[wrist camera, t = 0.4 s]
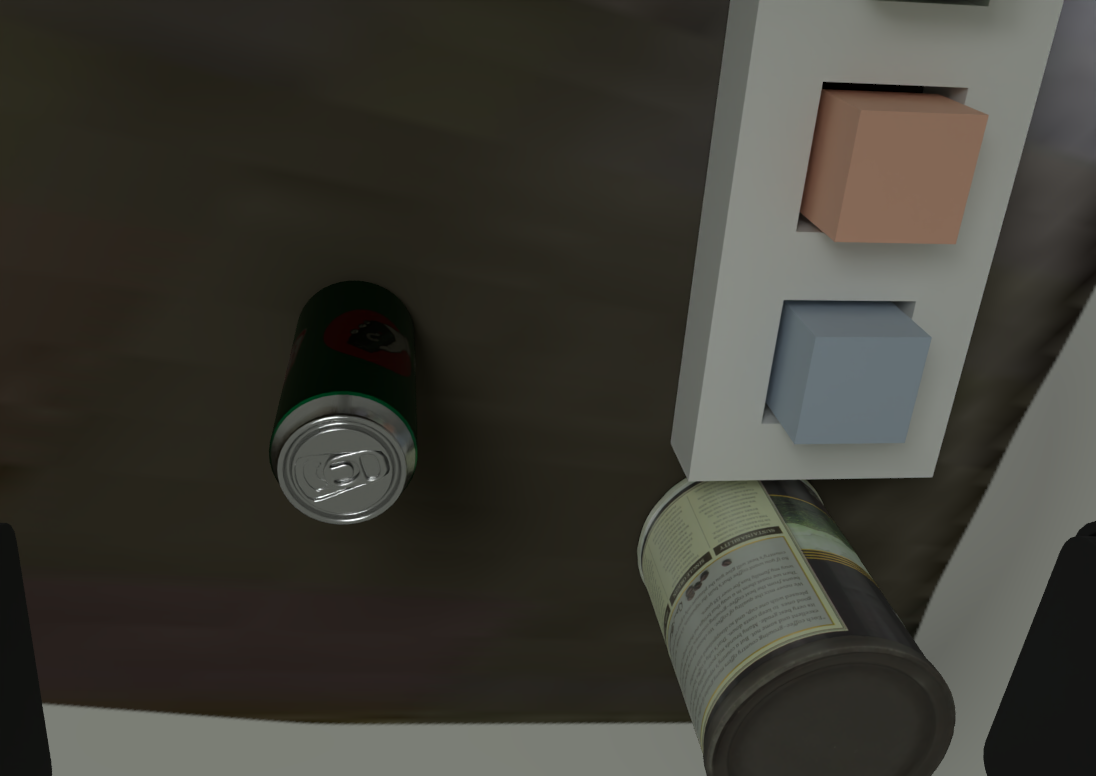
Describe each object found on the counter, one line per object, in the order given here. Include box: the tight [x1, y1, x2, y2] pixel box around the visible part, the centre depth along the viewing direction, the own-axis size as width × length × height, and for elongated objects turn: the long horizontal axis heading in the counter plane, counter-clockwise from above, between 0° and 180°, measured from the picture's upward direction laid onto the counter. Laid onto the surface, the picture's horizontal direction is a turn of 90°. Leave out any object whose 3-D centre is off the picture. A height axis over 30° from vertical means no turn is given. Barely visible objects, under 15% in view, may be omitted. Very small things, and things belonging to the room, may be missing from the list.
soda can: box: [269, 281, 417, 524], centre depth 39 cm, size 5×5×12 cm
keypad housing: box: [671, 0, 1064, 481], centre depth 42 cm, size 30×12×4 cm, turn 177°
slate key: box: [765, 300, 932, 444], centre depth 44 cm, size 5×5×4 cm
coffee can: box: [637, 478, 955, 776], centre depth 46 cm, size 10×10×14 cm
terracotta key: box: [800, 89, 989, 244], centre depth 40 cm, size 5×5×4 cm
